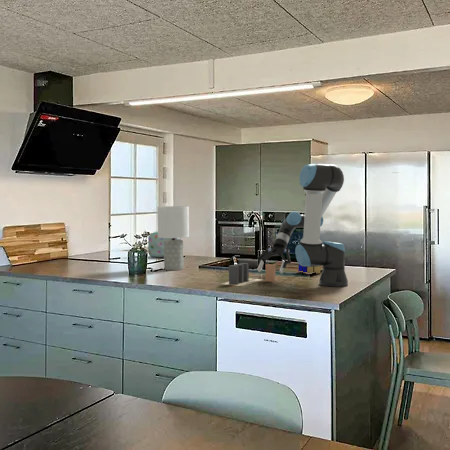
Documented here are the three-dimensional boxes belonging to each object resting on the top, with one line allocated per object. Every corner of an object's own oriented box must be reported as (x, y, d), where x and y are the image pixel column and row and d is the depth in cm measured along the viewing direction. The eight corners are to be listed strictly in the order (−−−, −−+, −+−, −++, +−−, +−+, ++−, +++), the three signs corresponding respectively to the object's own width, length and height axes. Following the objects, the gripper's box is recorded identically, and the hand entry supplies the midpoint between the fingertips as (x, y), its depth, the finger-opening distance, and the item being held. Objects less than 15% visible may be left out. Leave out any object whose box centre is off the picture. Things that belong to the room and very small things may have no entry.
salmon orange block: (267, 281, 296) (267, 264, 295) (275, 282, 293) (275, 264, 293) (265, 282, 294) (265, 264, 294) (273, 283, 292) (273, 265, 291)
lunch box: (183, 256, 420) (183, 230, 419) (178, 258, 410) (178, 231, 409) (152, 256, 428) (152, 229, 427) (147, 257, 418) (146, 230, 417)
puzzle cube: (298, 272, 331) (298, 256, 331) (311, 271, 335) (311, 255, 335) (306, 274, 322) (306, 258, 321) (320, 273, 326) (320, 257, 325)
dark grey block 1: (230, 283, 287) (230, 265, 287) (238, 284, 285) (238, 265, 284) (229, 283, 286) (228, 265, 285) (237, 284, 283) (236, 266, 282)
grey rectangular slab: (236, 282, 292) (235, 264, 291) (243, 282, 289) (243, 264, 289) (234, 282, 290) (234, 264, 290) (242, 283, 288) (241, 265, 287)
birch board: (263, 280, 300) (263, 279, 300) (241, 287, 279) (241, 286, 278) (242, 278, 307) (242, 277, 307) (219, 285, 286) (219, 283, 286)
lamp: (190, 266, 361) (189, 206, 358) (188, 271, 340) (188, 206, 338) (159, 267, 360) (158, 206, 358) (156, 271, 339) (155, 206, 337)
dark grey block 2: (240, 280, 297) (240, 262, 296) (248, 281, 294) (248, 263, 293) (239, 281, 295) (239, 263, 294) (246, 281, 292) (246, 263, 292)
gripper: (303, 247, 301) (291, 277, 290) (264, 245, 315) (252, 273, 303) (299, 238, 297) (287, 268, 285) (260, 237, 310) (247, 265, 298)
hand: (269, 271), depth 294 cm, fingers open, 13 cm apart
